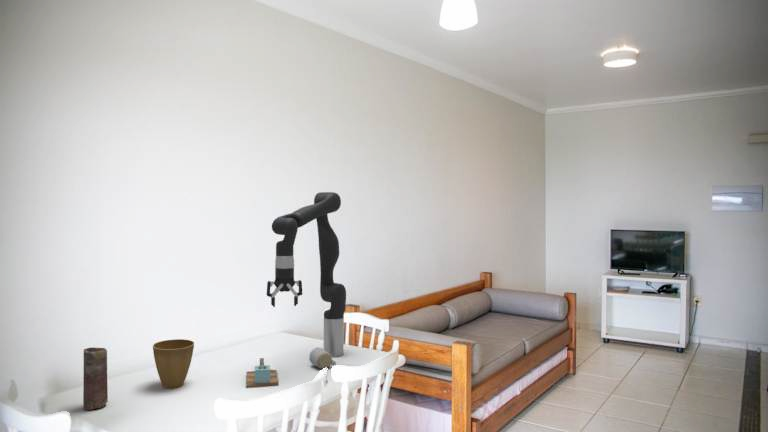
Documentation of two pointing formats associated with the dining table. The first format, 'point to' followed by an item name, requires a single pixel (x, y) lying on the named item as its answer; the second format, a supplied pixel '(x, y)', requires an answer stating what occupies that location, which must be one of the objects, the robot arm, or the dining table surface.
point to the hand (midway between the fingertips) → (284, 306)
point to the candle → (95, 378)
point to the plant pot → (173, 361)
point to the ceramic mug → (321, 358)
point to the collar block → (262, 374)
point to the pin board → (251, 383)
